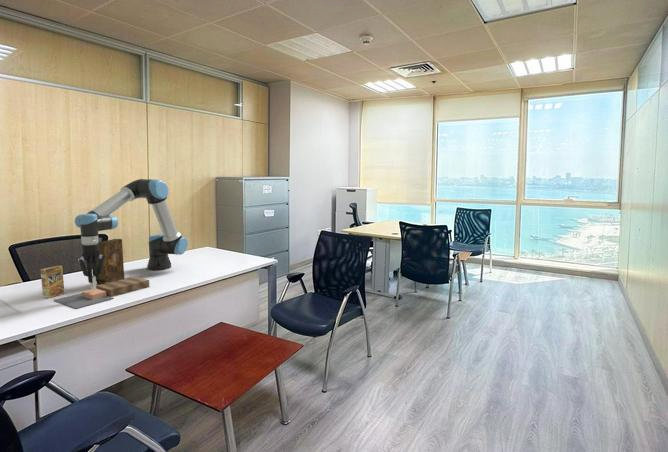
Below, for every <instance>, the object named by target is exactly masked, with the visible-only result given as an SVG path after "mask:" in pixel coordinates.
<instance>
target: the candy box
mask: <svg viewBox="0 0 668 452" xmlns="http://www.w3.org/2000/svg"><path fill="white" fill-rule="evenodd" d="M63 271H64V270H63V266H62V265H54V266H50V267H44V268H40V278H41V279H40V281H41V288H42V289H41V291H42V297H43V299H44V298H46V299H49V298H53V297H58V296H62V295H65V293H66V292H65V284H64V283H65V282H64V273H63Z"/></svg>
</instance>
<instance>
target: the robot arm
mask: <svg viewBox="0 0 668 452" xmlns="http://www.w3.org/2000/svg"><path fill="white" fill-rule="evenodd" d="M168 196H169V187H168V184H167V183H166V182H165V181H163V180H162V179H156V178H154V179H150V178H149V179H147V178H145V179H144V178H139V179H135V180H133V181H131V182H129V183H127V184H126V185H124V186H123V187H121V188H120V190H119V191H118V192H117V193H116V194H114V195H112V196H111V197H109V198H108V199H106V200H105V201H103V202H102V203H100V204H99V205H98V206H96V207H94V208H92V209H91V210H90V211H88V212H86V213H82V214H78V215H76V216H75V218H74V223H75V226H76V227H78V228H79V229H80V238H81V239H80V240H81V244H82V245H81V251H82V252H81V253H82V254H81V257H80V258H77V259H76V261H77V262H78V263H79V266H80V269H81V271H82V273H83V276H84V277H87V278H88V283H89V285H90V286H89V287H90V289H96V285H97V276H98V274H101V270H102V264H103V260H104V258H105V256H104V255H101V254H100V252H99V244H98V242H99V241H100V240H99V232H100V231H102V232H103V231H107V230H108V231H109V230H114V229H116V228H117V227H118V226H119V220H118V218H117V216H115V215H112V214H113V213H115V212H116V211H117V210H119V209H120V208H121V207H123V206H124V205H125V204H127V203H128V202H133V201H134V200H137V199H146V202H147V204H149V205H151V207H152V209H153V212H154V214H155V216H156V219H157V222H158V224H159V227H160V229H161V232H162V233H160V234H159V233H158V234H153V235H152V234H151V235H149V236H148V252H149V258H148V262H147V264H146V267H147V268H146V269H147V270H149V271H161V270H168V269H171V268H172V262H171V260H170V257H169V255H176V256H177V255H178V256H179V255H183V254H185V252H186V251H187V248H188V245H189V241H188V239H187V238H186V237H183V236H182V234H181V232H180V231H178V230H177V227H176V224H175V222H174V219H173V217H172V213H171V212H170V211H171V210H170V209H169V206H168V203H167V199H168ZM98 257H99V259H98ZM97 259H98V265H97Z"/></svg>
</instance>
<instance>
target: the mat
mask: <svg viewBox="0 0 668 452" xmlns="http://www.w3.org/2000/svg"><path fill="white" fill-rule="evenodd" d="M111 300H114V297H109V296H105V297H101V298H98V299H94V300H92V299H89V298H86V297H83V296H82V292H81V293H76V294H73V295H68V296H64V297H59V298H56V299H53V301H54V302H56V303H59V304H61V305H64V306H67V307H70V308H71V309H74V310H78V309H81V308H86V307H89V306H92V305H96V304H101V303H104V302H107V301H111Z"/></svg>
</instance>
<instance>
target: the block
mask: <svg viewBox="0 0 668 452" xmlns="http://www.w3.org/2000/svg"><path fill="white" fill-rule="evenodd" d="M81 293H82V296H83V297H86V298H89V299H92V300H94V299H98V298H101V297H105V296H107V294H106V291H103V290H100V289H92V288H90V289H89V290H84V291H81Z"/></svg>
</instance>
